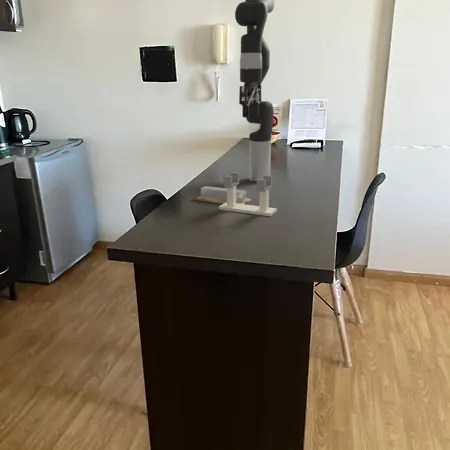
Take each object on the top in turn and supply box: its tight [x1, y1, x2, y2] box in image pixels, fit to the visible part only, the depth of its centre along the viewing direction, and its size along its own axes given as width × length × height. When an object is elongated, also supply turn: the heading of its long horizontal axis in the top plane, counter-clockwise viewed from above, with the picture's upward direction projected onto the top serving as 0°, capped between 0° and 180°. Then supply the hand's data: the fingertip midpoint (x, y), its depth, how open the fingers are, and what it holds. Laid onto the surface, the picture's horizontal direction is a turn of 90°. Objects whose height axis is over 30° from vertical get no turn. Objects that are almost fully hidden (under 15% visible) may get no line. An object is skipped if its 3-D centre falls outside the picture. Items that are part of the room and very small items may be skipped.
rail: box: [200, 185, 248, 202], centre depth 167 cm, size 4×17×4 cm, turn 65°
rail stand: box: [218, 171, 278, 217], centre depth 153 cm, size 7×19×12 cm, turn 64°
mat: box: [195, 195, 252, 205], centre depth 167 cm, size 8×19×1 cm, turn 64°
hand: (250, 116), depth 159 cm, fingers open, 8 cm apart
